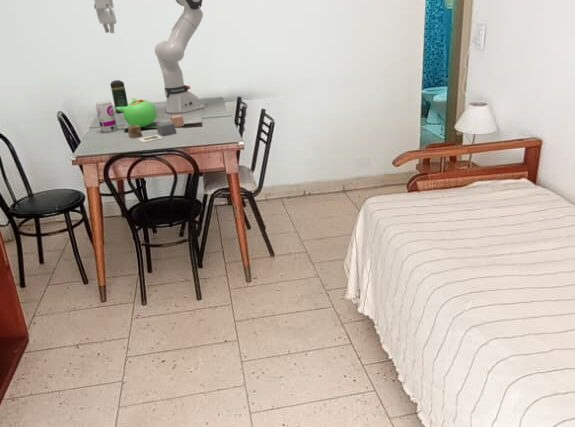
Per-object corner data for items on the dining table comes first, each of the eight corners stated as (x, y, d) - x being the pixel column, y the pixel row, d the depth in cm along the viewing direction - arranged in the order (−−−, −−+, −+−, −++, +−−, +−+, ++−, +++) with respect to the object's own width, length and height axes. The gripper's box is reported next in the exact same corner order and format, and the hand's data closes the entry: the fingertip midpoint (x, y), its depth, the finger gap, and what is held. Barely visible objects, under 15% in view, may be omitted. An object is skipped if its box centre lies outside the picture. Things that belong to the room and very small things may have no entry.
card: (157, 135, 259) (157, 134, 259) (162, 138, 253) (162, 137, 253) (137, 139, 255) (137, 138, 255) (142, 142, 249) (142, 141, 248)
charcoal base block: (171, 131, 266) (169, 121, 264) (176, 133, 261) (174, 123, 259) (158, 133, 263) (156, 124, 261) (162, 136, 257) (161, 126, 255)
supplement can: (120, 128, 279) (114, 100, 273) (111, 132, 272) (104, 103, 266) (107, 128, 282) (101, 100, 275) (98, 132, 275) (91, 104, 268)
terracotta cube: (180, 124, 278) (179, 114, 276) (184, 125, 274) (182, 116, 272) (171, 125, 276) (170, 116, 274) (175, 127, 272) (173, 118, 270)
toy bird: (145, 131, 269) (140, 102, 263) (118, 130, 275) (112, 102, 269) (164, 122, 284) (160, 95, 278) (138, 121, 290) (133, 95, 284)
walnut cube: (139, 134, 264) (137, 124, 262) (142, 136, 260) (140, 126, 258) (129, 136, 262) (127, 126, 260) (132, 138, 258) (130, 128, 256)
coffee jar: (129, 111, 316) (123, 80, 309) (116, 113, 314) (109, 82, 307) (128, 109, 325) (122, 78, 317) (115, 110, 323) (109, 80, 315)
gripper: (116, 4, 264) (121, 32, 269) (105, 4, 280) (110, 31, 285) (103, 5, 261) (109, 34, 266) (93, 5, 277) (98, 32, 282)
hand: (109, 32), depth 276 cm, fingers open, 8 cm apart
